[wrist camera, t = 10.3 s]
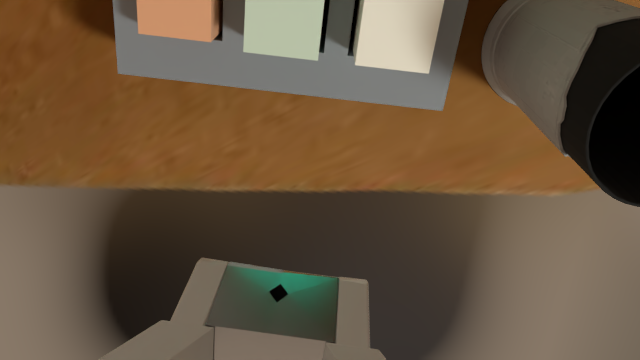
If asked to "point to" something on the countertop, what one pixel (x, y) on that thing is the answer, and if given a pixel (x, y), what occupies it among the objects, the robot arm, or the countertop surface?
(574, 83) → the grey black ceramic vase
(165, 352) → the robot arm
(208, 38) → the key
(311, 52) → the key mid
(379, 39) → the key
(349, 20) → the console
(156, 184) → the countertop surface
